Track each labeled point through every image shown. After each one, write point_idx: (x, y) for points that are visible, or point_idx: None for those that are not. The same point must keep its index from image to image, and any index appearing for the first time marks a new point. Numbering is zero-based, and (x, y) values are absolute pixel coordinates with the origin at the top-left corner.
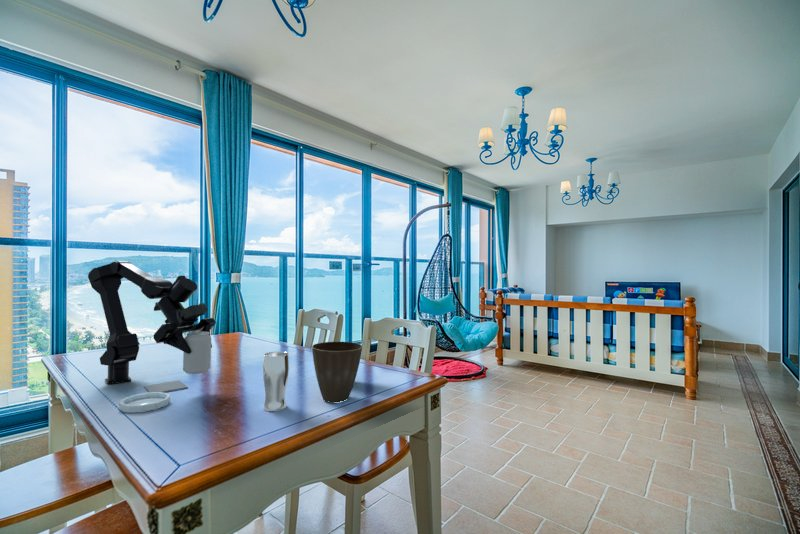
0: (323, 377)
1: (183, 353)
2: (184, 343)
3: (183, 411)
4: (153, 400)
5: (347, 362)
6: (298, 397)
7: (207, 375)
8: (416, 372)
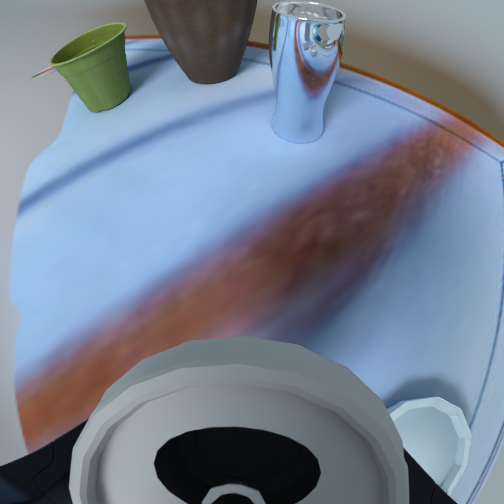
0: (250, 29)
1: None
2: (427, 475)
3: (412, 311)
4: None
5: None
6: (215, 116)
7: None
8: None
